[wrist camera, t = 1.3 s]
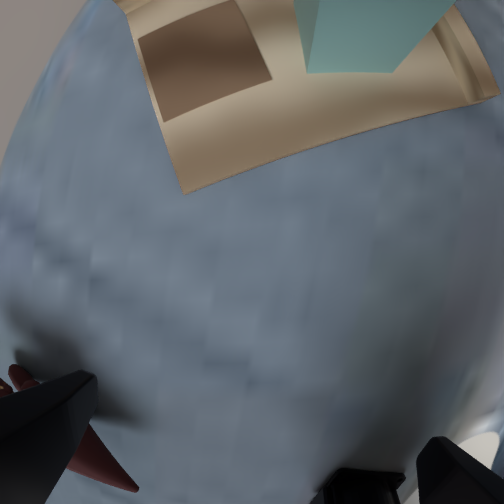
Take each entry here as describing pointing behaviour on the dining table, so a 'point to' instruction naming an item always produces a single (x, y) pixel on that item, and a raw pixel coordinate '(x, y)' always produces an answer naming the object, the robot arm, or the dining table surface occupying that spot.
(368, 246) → the dining table surface
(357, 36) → the block
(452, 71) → the tan tray
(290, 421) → the dining table surface
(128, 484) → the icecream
